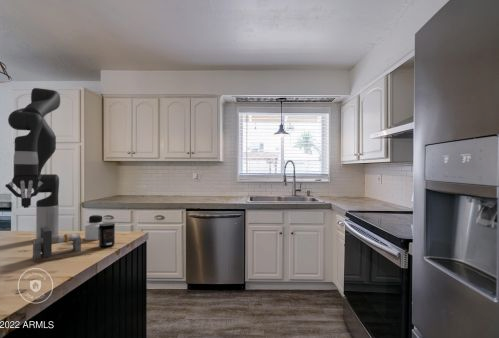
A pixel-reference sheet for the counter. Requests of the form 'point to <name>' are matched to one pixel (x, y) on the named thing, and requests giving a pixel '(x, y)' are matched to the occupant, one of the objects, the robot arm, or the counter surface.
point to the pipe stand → (57, 254)
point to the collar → (46, 241)
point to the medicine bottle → (93, 227)
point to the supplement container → (106, 235)
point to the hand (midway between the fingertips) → (25, 207)
